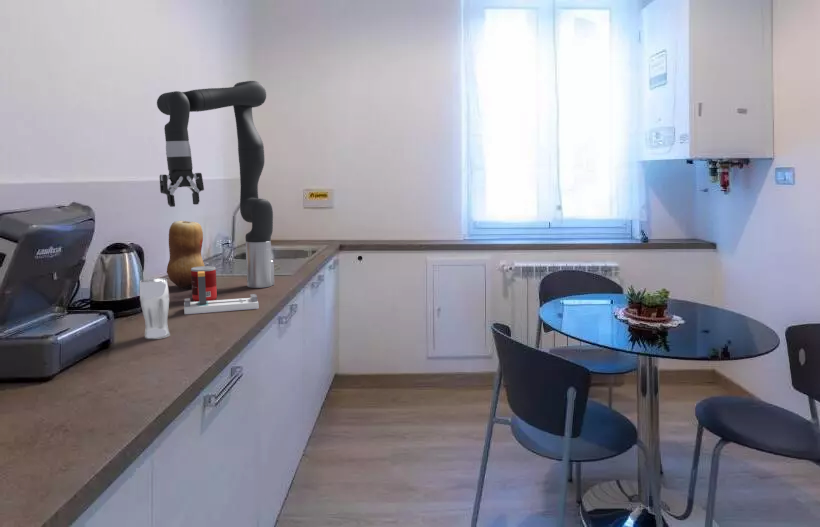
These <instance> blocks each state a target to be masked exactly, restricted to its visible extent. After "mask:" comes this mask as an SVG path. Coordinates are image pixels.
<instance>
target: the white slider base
mask: <svg viewBox="0 0 820 527" xmlns="http://www.w3.org/2000/svg"><path fill="white" fill-rule="evenodd" d="M249 296H250V297H245V298H244V297H243V298H242V297H241V298H228V299H216V300H213V301H206V304H199V302H195V301H191V298H184V302H183V310H184V315H194V314H206V313H220V312H230V311H243V310H244V311H246V310H259V309H260V308H259V307H260V305H259V301H258V296H257V293H250V294H249Z"/></svg>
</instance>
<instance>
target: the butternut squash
mask: <svg viewBox="0 0 820 527" xmlns="http://www.w3.org/2000/svg"><path fill="white" fill-rule="evenodd" d="M203 233H204V232H203V228H202V225H201V224H200V223H199V222H196V221H186V220H178V221H174V222H173V223H172V224H171V225H170V226H169V231H168V250H169V261H168V263H167V267H166V274H167V276H168V279H169V280H170V281H171V282H172V283H173V284H174V285H175V286H177V287H178V288H179V289H186V288H192V281H191V268H194V267H200V266H205V263H204V260H203V257H202V249H203V241H204V234H203Z"/></svg>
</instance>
